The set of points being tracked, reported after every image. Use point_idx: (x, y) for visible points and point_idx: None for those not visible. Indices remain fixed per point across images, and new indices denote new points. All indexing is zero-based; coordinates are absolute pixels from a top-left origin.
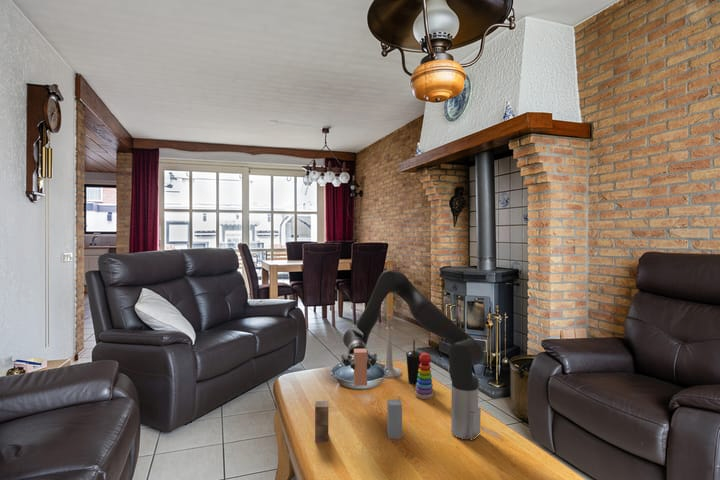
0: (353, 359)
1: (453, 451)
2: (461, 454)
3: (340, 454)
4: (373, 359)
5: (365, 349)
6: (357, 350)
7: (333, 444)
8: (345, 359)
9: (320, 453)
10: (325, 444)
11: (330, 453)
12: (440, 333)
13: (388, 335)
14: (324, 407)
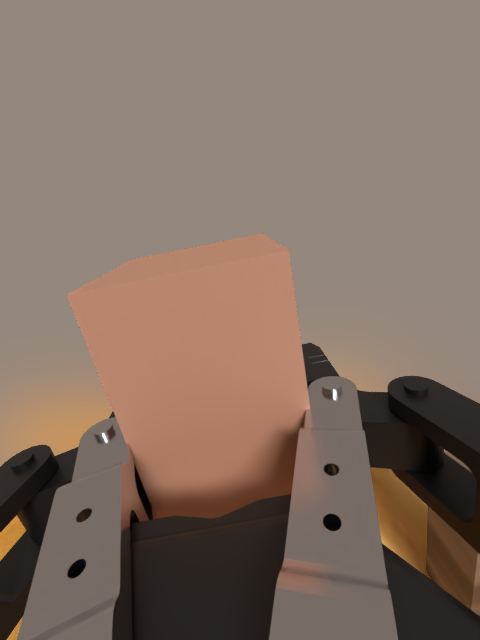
0: (310, 393)
1: (9, 543)
2: (3, 530)
3: None
4: (36, 449)
5: (103, 279)
6: (227, 248)
7: (390, 545)
8: (433, 382)
9: (406, 486)
10: (422, 541)
11: (374, 489)
12: None
13: None
14: (449, 454)
